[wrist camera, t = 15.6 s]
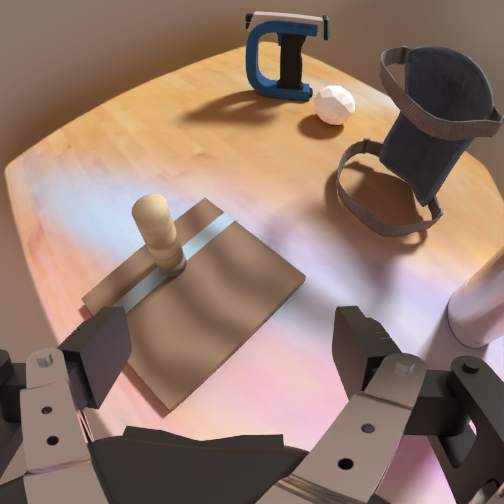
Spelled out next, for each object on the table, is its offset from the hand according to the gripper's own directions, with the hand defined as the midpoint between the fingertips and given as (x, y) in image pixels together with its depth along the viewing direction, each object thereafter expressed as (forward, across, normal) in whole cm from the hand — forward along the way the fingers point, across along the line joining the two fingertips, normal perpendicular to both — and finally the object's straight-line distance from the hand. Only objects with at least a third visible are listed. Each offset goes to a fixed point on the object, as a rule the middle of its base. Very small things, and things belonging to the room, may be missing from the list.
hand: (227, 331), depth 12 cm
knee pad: (+38, -23, -2) cm, 44 cm away
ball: (+52, -16, -16) cm, 56 cm away
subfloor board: (+25, +7, +9) cm, 28 cm away
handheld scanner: (+58, -8, -23) cm, 63 cm away
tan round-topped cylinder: (+27, +9, +5) cm, 29 cm away
